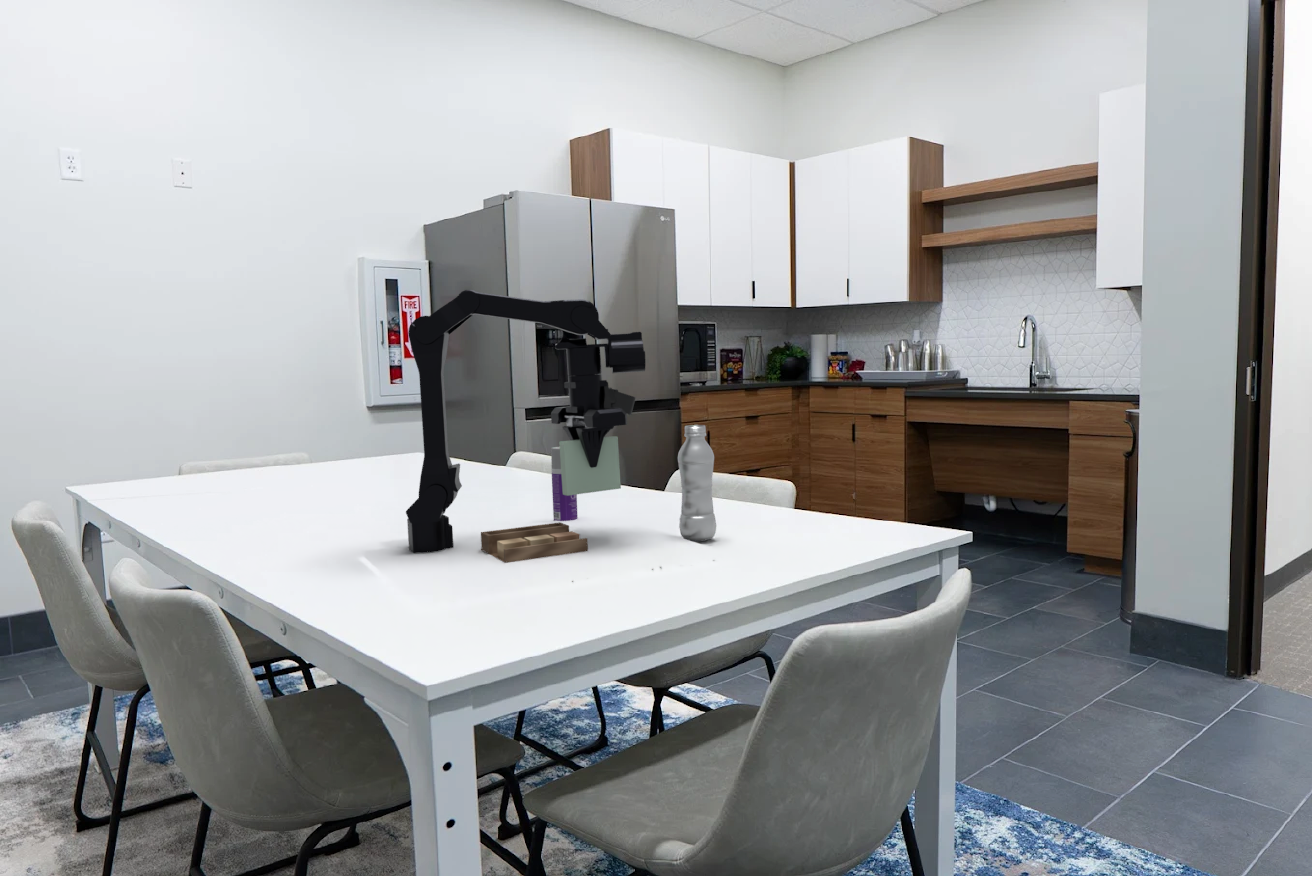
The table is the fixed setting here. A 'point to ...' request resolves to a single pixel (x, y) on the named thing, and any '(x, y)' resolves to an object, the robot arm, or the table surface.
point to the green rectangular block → (579, 472)
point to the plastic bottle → (696, 486)
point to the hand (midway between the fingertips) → (590, 466)
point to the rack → (532, 551)
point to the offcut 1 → (510, 545)
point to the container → (561, 492)
